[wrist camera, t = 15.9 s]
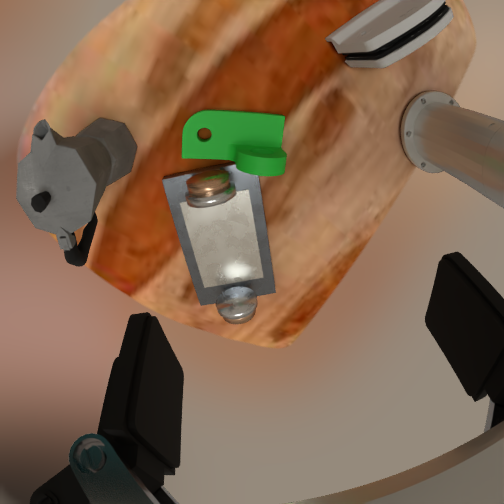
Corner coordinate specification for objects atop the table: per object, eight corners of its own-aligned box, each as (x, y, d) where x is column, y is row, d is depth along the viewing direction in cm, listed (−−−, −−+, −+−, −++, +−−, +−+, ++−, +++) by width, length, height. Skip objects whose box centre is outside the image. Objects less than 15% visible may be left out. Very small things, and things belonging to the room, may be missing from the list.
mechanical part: (282, 114, 36) (296, 123, 29) (276, 159, 39) (289, 177, 32) (185, 108, 35) (176, 115, 28) (183, 154, 38) (175, 172, 31)
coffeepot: (68, 110, 32) (-18, 142, 17) (132, 96, 33) (67, 113, 17) (87, 214, 40) (31, 291, 25) (147, 207, 41) (109, 289, 26)
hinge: (402, -15, 26) (450, -20, 18) (420, 11, 28) (468, 13, 20) (322, 40, 31) (361, 39, 23) (344, 67, 33) (386, 75, 26)
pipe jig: (164, 176, 39) (152, 197, 32) (254, 158, 39) (261, 175, 32) (201, 299, 50) (199, 332, 43) (274, 286, 50) (282, 318, 43)
